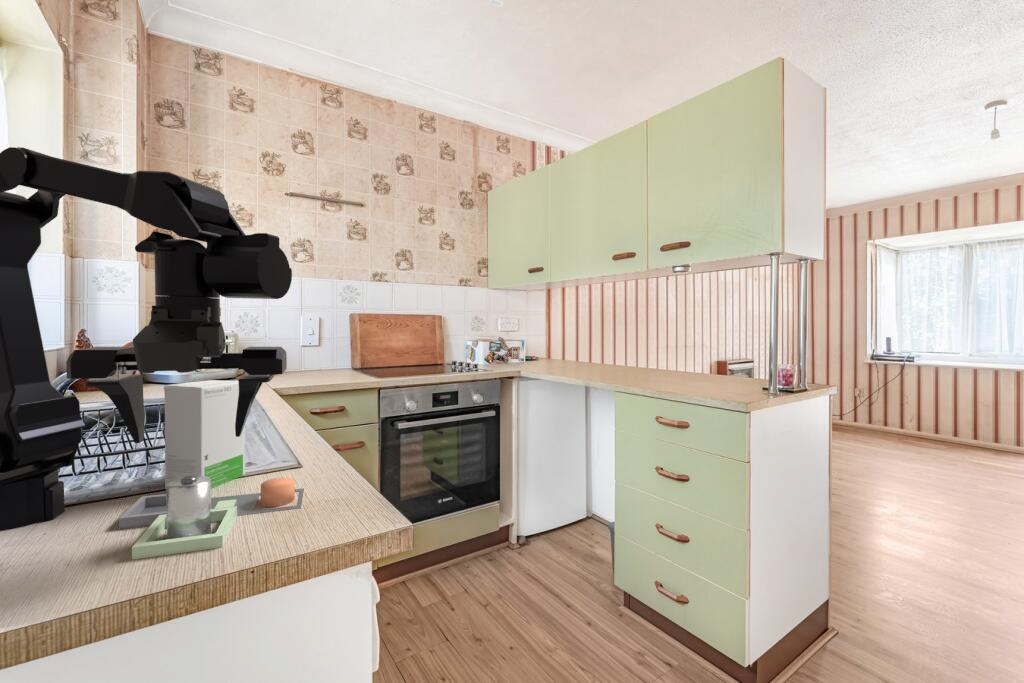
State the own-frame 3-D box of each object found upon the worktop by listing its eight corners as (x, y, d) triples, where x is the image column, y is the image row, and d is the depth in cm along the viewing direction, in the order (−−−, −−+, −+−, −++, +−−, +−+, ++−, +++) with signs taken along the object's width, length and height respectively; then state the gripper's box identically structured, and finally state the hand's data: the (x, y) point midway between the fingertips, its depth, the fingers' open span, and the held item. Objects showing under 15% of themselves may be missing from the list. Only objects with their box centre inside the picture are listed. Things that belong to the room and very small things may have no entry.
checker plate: (116, 538, 51) (115, 519, 51) (140, 512, 58) (140, 496, 57) (300, 515, 58) (300, 498, 58) (304, 495, 65) (304, 480, 64)
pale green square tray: (132, 568, 45) (131, 547, 45) (159, 533, 52) (159, 515, 52) (222, 555, 48) (222, 535, 48) (237, 523, 55) (237, 506, 55)
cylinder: (258, 509, 58) (258, 490, 57) (263, 497, 61) (263, 479, 61) (293, 505, 59) (293, 486, 59) (295, 493, 63) (295, 476, 63)
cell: (161, 552, 48) (160, 486, 47) (173, 534, 51) (173, 473, 51) (206, 545, 49) (205, 482, 49) (214, 529, 53) (214, 470, 53)
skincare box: (200, 500, 62) (199, 388, 61) (160, 495, 63) (159, 385, 62) (247, 479, 70) (247, 380, 69) (211, 475, 71) (211, 377, 70)
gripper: (28, 289, 38) (33, 471, 39) (276, 298, 45) (276, 452, 46) (93, 294, 48) (96, 438, 49) (286, 301, 55) (287, 427, 56)
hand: (190, 439), depth 50 cm, fingers open, 9 cm apart
